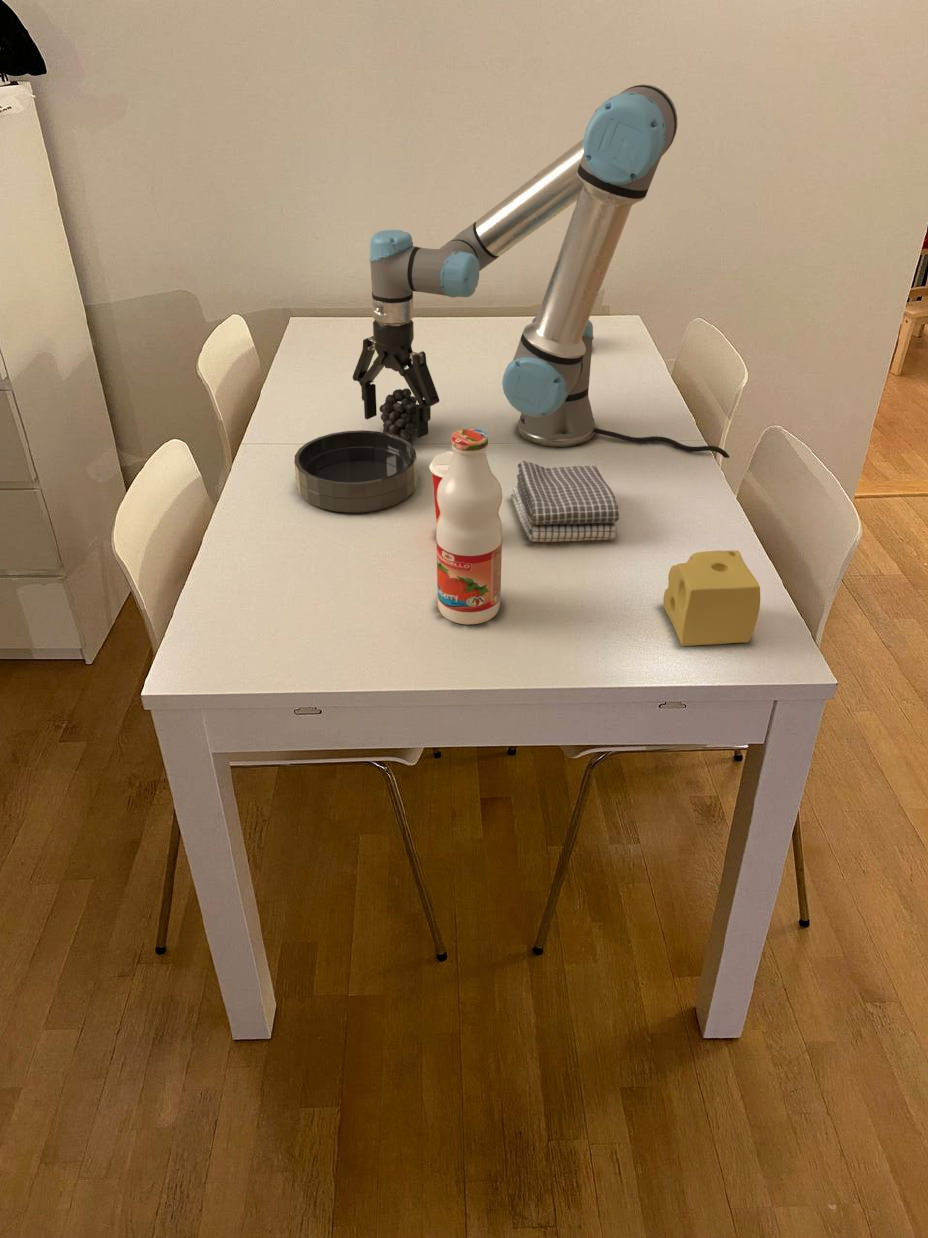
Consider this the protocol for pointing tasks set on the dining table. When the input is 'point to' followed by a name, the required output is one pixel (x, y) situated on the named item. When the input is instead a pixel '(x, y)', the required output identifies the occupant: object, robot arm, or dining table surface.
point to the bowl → (356, 471)
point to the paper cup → (439, 473)
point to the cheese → (712, 599)
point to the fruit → (399, 414)
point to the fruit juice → (469, 533)
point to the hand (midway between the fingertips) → (396, 426)
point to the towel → (564, 503)
